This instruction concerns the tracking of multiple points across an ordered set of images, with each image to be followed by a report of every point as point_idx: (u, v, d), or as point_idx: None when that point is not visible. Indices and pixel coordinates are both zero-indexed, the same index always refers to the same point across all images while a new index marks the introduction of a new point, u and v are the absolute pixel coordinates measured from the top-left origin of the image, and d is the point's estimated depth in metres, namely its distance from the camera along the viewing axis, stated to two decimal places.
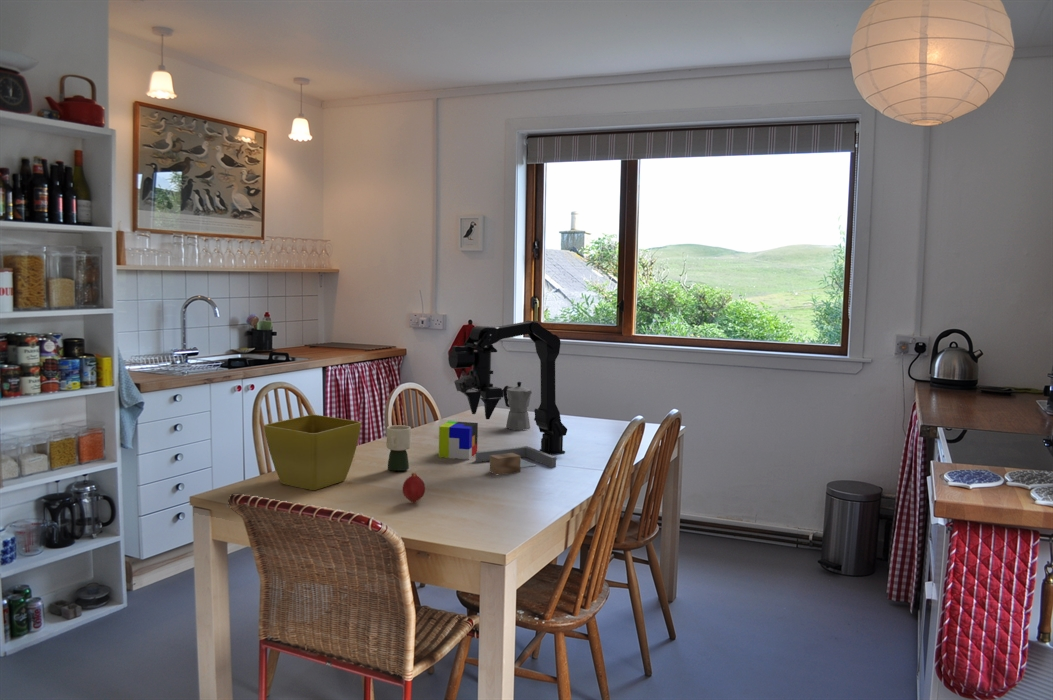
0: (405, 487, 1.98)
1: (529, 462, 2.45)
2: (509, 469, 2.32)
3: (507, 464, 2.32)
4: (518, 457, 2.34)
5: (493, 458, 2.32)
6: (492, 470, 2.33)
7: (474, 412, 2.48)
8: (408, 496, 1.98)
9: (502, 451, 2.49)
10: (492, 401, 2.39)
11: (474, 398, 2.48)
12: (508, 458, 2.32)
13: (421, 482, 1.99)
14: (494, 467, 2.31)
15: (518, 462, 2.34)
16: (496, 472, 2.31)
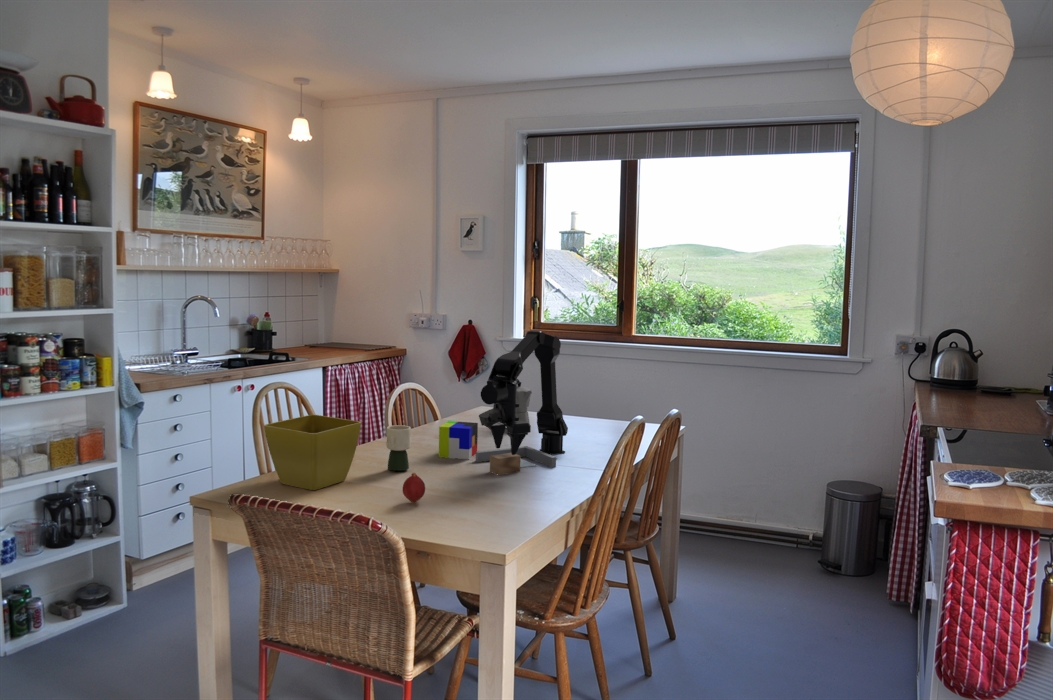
0: (405, 487, 1.98)
1: (529, 462, 2.45)
2: (509, 469, 2.32)
3: (507, 464, 2.32)
4: (518, 457, 2.34)
5: (493, 458, 2.32)
6: (492, 470, 2.32)
7: (498, 446, 2.37)
8: (408, 496, 1.98)
9: (502, 451, 2.49)
10: (518, 436, 2.29)
11: (498, 432, 2.38)
12: (508, 458, 2.32)
13: (421, 482, 1.99)
14: (494, 467, 2.31)
15: (518, 462, 2.34)
16: (496, 472, 2.31)
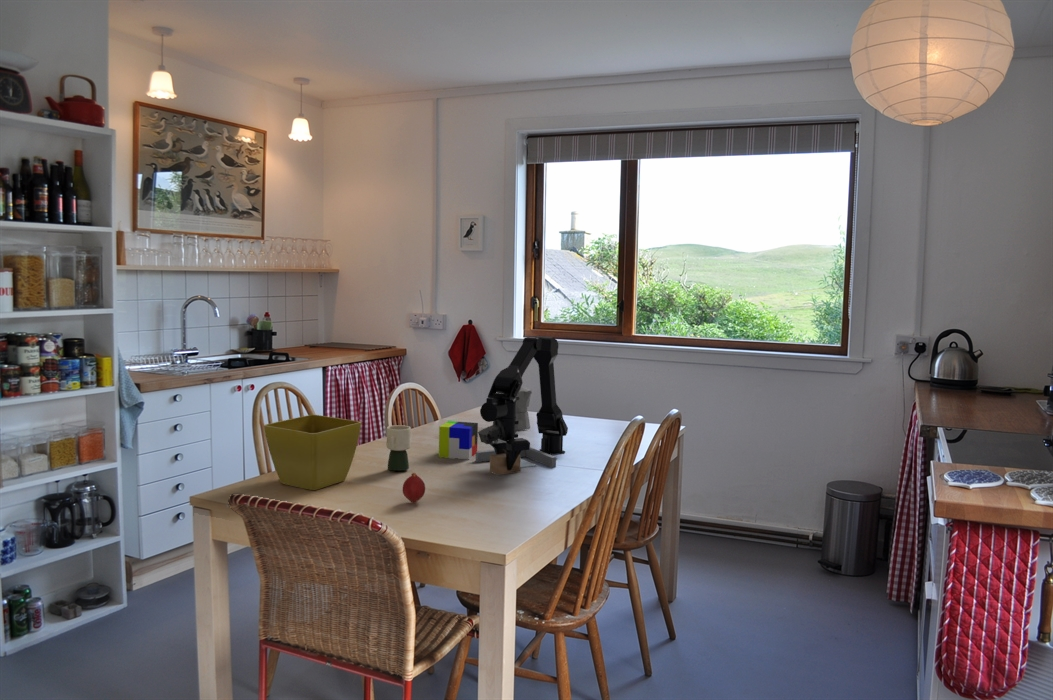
0: (405, 487, 1.98)
1: (529, 462, 2.45)
2: None
3: None
4: (518, 456, 2.34)
5: (493, 458, 2.32)
6: (492, 470, 2.32)
7: None
8: (408, 496, 1.98)
9: None
10: (514, 451, 2.31)
11: (501, 450, 2.36)
12: None
13: (421, 482, 1.99)
14: (495, 467, 2.31)
15: (518, 461, 2.34)
16: (497, 472, 2.30)
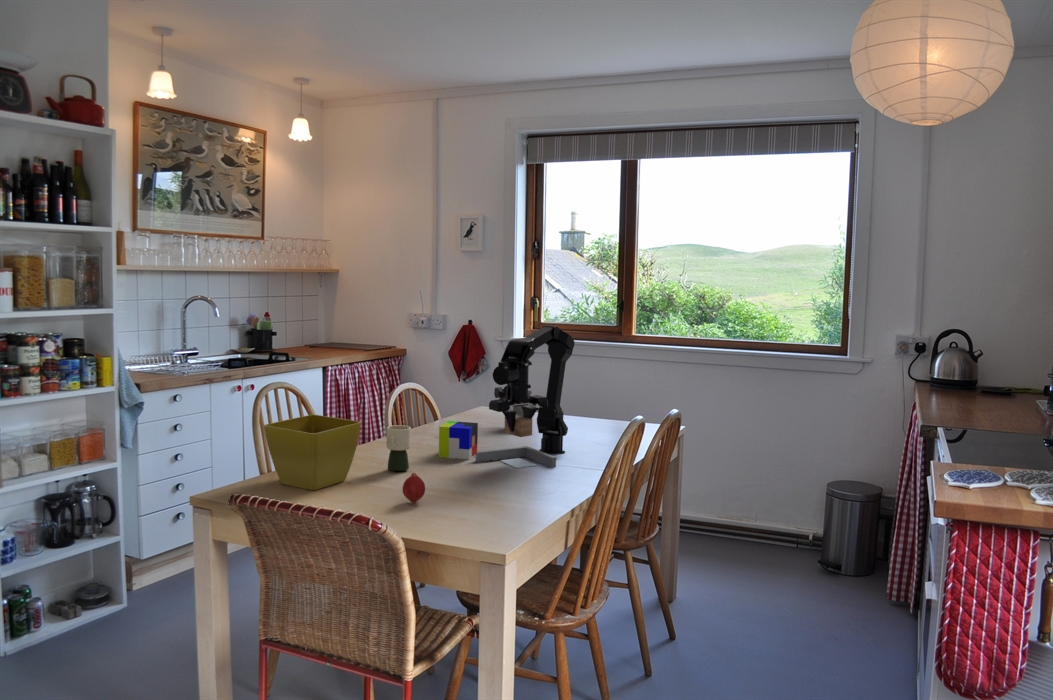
0: (405, 487, 1.98)
1: (529, 462, 2.45)
2: None
3: None
4: (519, 422, 2.38)
5: None
6: None
7: None
8: (408, 496, 1.98)
9: (502, 451, 2.49)
10: (510, 414, 2.39)
11: (526, 414, 2.43)
12: None
13: (421, 482, 1.99)
14: None
15: (519, 427, 2.38)
16: None
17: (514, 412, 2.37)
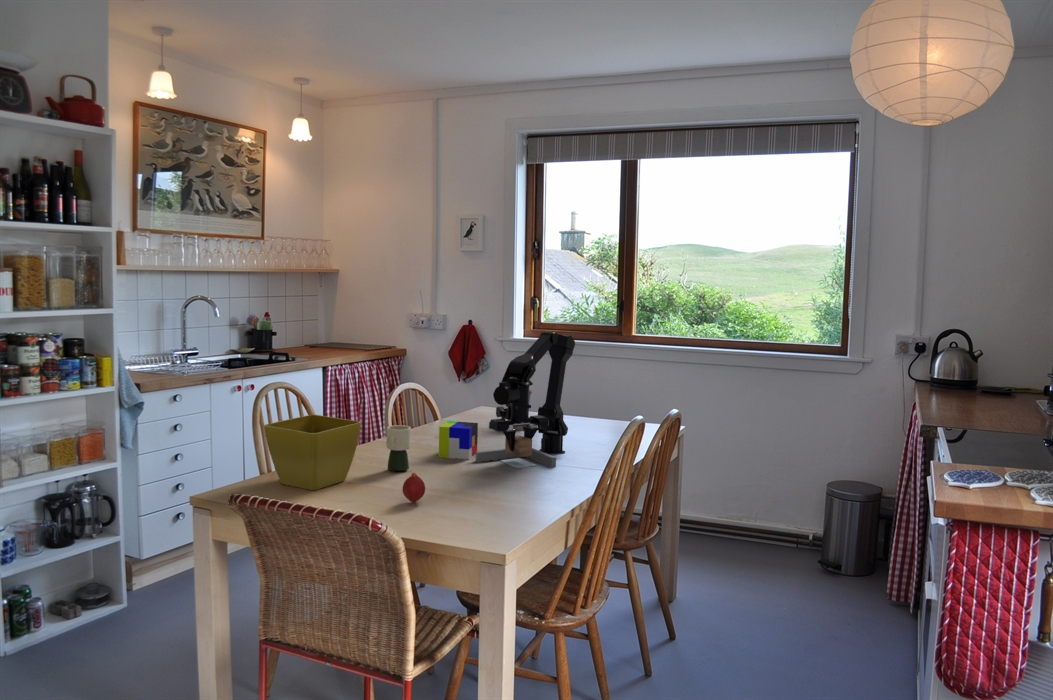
0: (405, 487, 1.98)
1: (529, 462, 2.45)
2: None
3: None
4: (518, 441, 2.40)
5: None
6: None
7: None
8: (408, 496, 1.98)
9: (502, 451, 2.49)
10: None
11: (527, 434, 2.45)
12: None
13: (421, 482, 1.99)
14: None
15: (518, 446, 2.40)
16: None
17: (513, 431, 2.39)
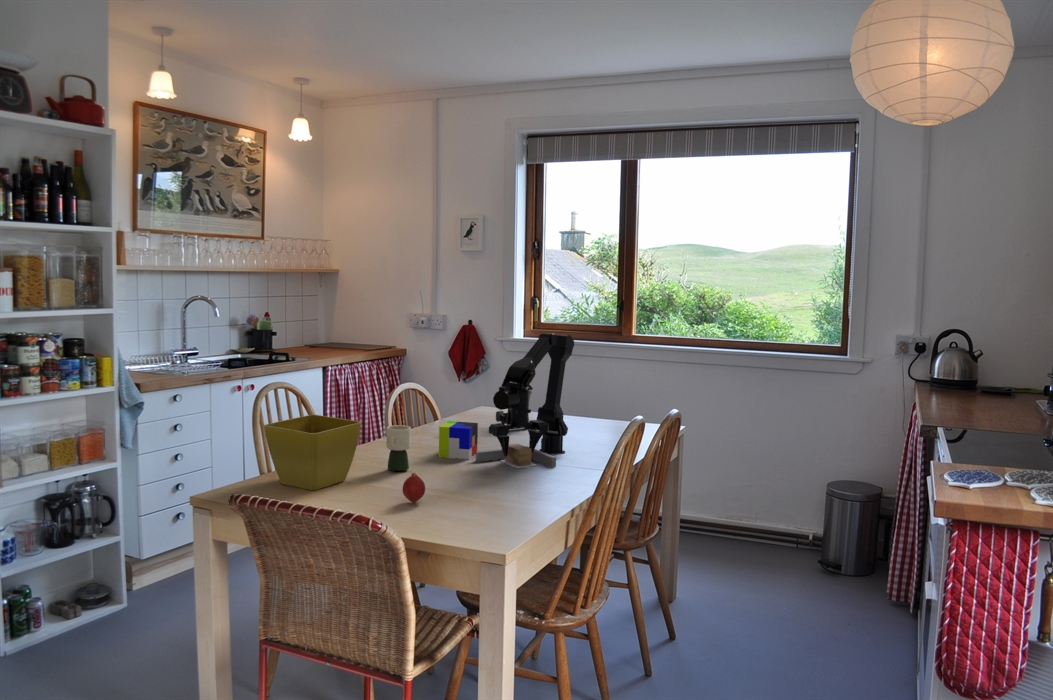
0: (405, 487, 1.98)
1: None
2: (512, 459, 2.43)
3: (511, 454, 2.43)
4: (518, 451, 2.40)
5: None
6: None
7: None
8: (408, 496, 1.98)
9: (502, 451, 2.49)
10: None
11: (532, 438, 2.46)
12: (511, 448, 2.43)
13: (421, 482, 1.99)
14: None
15: (518, 456, 2.40)
16: None
17: (507, 437, 2.38)
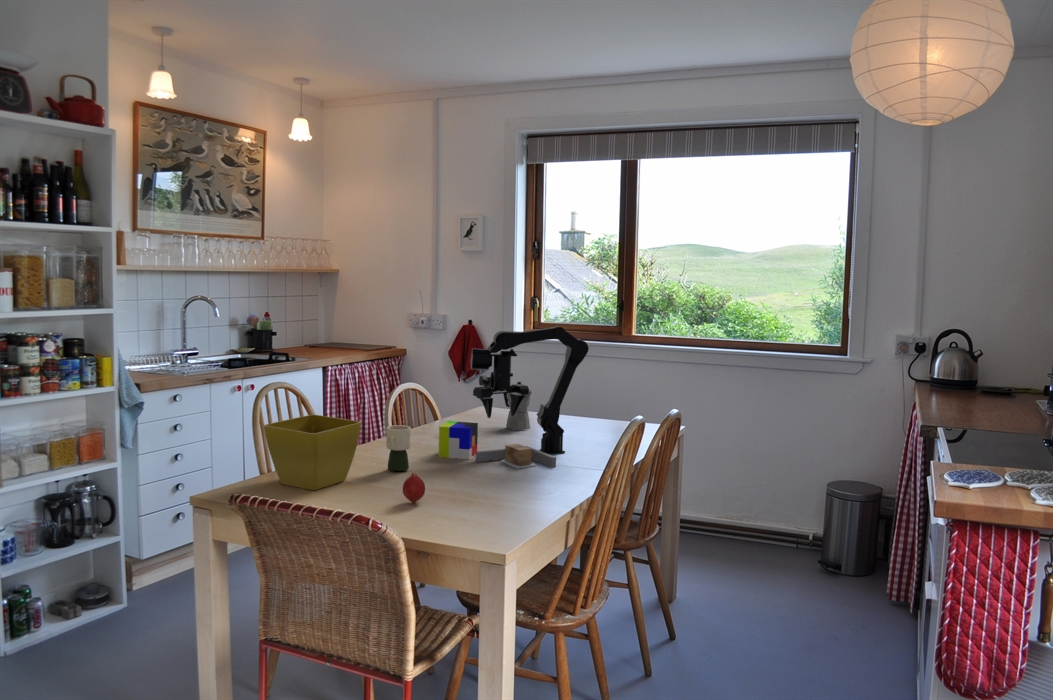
0: (405, 487, 1.98)
1: None
2: (512, 459, 2.43)
3: (511, 454, 2.43)
4: (518, 451, 2.40)
5: None
6: None
7: (512, 414, 2.59)
8: (408, 496, 1.98)
9: (502, 451, 2.49)
10: None
11: (514, 401, 2.59)
12: (511, 448, 2.43)
13: (421, 482, 1.99)
14: None
15: (518, 456, 2.40)
16: None
17: (491, 399, 2.50)
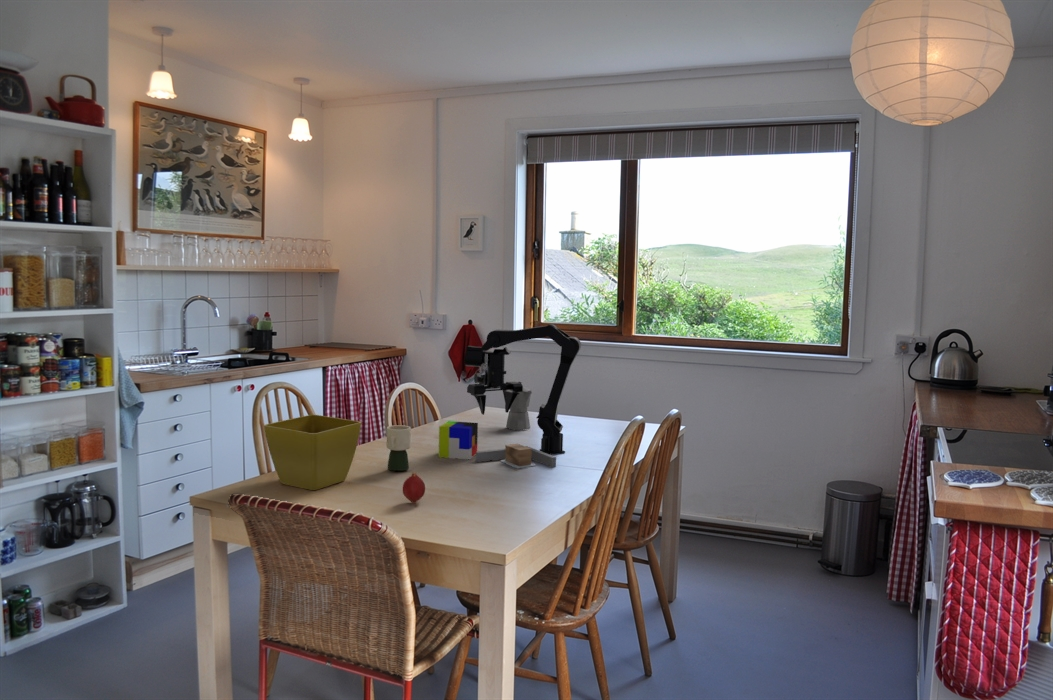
0: (405, 487, 1.98)
1: None
2: (512, 459, 2.43)
3: (511, 454, 2.43)
4: (518, 451, 2.40)
5: None
6: None
7: (506, 410, 2.65)
8: (408, 496, 1.98)
9: (502, 451, 2.49)
10: None
11: (508, 398, 2.65)
12: (511, 448, 2.43)
13: (421, 482, 1.99)
14: None
15: (518, 456, 2.40)
16: None
17: (484, 395, 2.57)
